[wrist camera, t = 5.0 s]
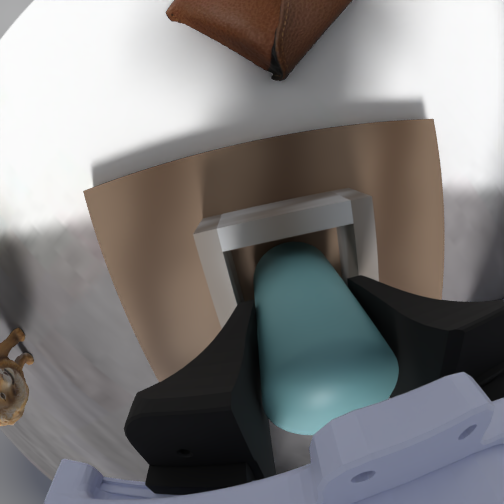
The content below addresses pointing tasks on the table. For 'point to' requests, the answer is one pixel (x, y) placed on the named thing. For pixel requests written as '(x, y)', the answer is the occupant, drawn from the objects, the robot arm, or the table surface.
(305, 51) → the sunglasses case
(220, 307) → the socket board
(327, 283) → the peg
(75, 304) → the table surface
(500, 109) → the table surface
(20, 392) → the lion figurine
